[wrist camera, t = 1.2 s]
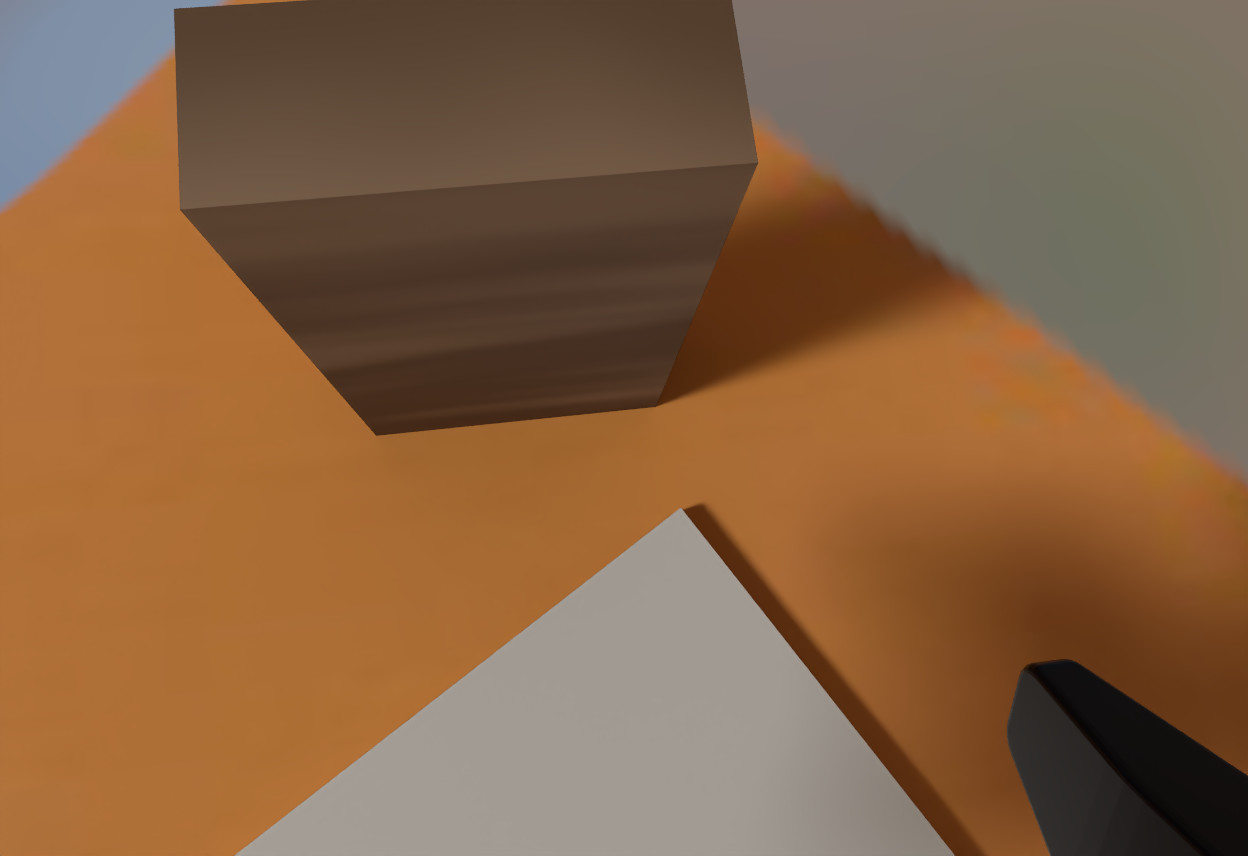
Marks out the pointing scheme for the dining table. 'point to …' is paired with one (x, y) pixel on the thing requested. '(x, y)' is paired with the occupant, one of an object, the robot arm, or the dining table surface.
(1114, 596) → the dining table surface
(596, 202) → the walnut block
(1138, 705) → the robot arm
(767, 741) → the grey mat
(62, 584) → the dining table surface
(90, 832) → the dining table surface
